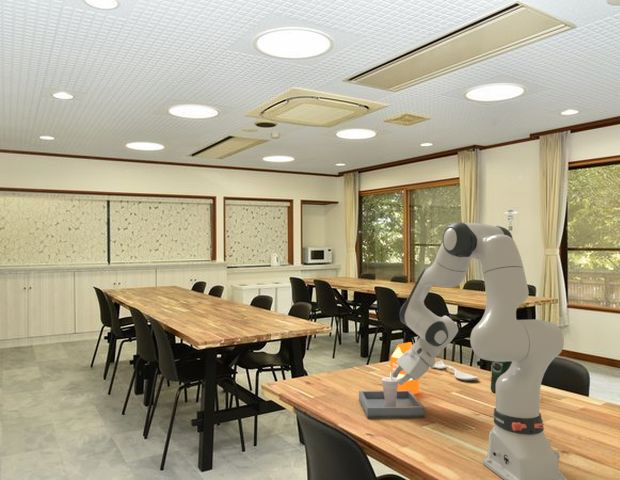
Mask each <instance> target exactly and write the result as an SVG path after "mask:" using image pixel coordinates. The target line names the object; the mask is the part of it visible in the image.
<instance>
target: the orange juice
mask: <svg viewBox="0 0 620 480" xmlns="http://www.w3.org/2000/svg"><path fill="white" fill-rule="evenodd" d="M412 345H413V344H412V342H411V341H410V342H409V341H408V342H404V343H400V344H397V346H396V348H395V349H394V351H393V353H392V354H391V356H390V368H391V367H393V372H394V371H395V369H396V367H397V366H398V364H397V363H396V361H397V360H398V358H399V357H401V356H402V355H403V354H404V353H405V352H406V351H407V350H409V349H410V350H412V349H411V348H410V347H411V346H412ZM405 373H406V372H405V371H404V370H403V371H402V372H400V373H399V374H398V377H397V378H398V379H400V378H402V377H403V376H404V374H405ZM389 374H390V376H389V377H391V371H390V373H389ZM419 382H420V378H419V379H417V380H415V381H414V380H413V379H412V378H411V379H410V380H408V381H407V382H405V383H404V384H403V385H399V384H398V389H397V391H407V390H410V391H411V392H412V393H413V394H414V395H416V394H419V393H420V392H419V390H420V389H419V388H420V385H419Z"/></svg>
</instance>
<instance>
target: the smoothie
mask: <svg viewBox="0 0 620 480" xmlns="http://www.w3.org/2000/svg"><path fill="white" fill-rule="evenodd" d="M390 372H391V377H390V376H385V377H381V383H382V389H383V390H382V391H384V399H385V406H386V407H395V406H396V398H397V389H398V382H397V381H398V380H399V379H398V378H394V377H393V367H391V366H390Z"/></svg>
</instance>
